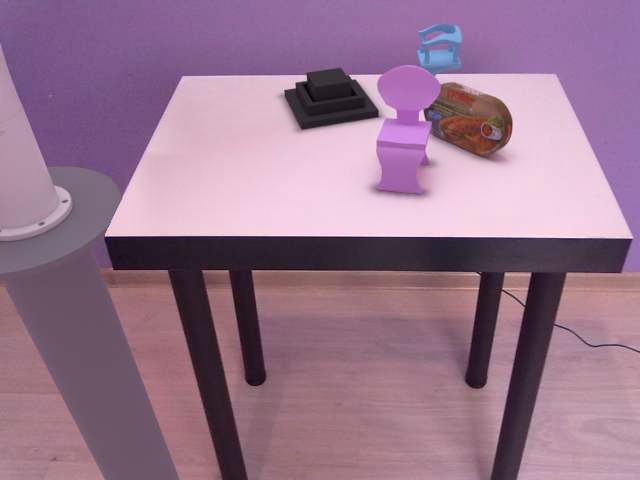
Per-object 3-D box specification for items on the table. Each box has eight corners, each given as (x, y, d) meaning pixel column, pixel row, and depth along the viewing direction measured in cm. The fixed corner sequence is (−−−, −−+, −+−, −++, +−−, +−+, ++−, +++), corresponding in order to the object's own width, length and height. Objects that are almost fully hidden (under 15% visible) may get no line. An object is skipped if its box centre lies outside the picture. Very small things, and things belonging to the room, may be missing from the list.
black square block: (316, 110, 101) (314, 86, 99) (307, 95, 106) (306, 72, 103) (351, 104, 103) (351, 81, 100) (341, 89, 107) (340, 67, 104)
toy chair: (368, 190, 85) (367, 86, 75) (380, 158, 91) (380, 58, 82) (429, 197, 83) (436, 91, 74) (437, 163, 90) (444, 62, 80)
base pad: (301, 129, 99) (299, 112, 97) (284, 96, 108) (282, 79, 107) (378, 116, 101) (378, 99, 100) (355, 85, 111) (355, 69, 109)
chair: (409, 89, 109) (411, 19, 102) (456, 86, 109) (462, 17, 102) (414, 108, 103) (417, 36, 96) (464, 106, 103) (471, 34, 96)
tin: (420, 129, 98) (423, 78, 92) (434, 123, 99) (437, 72, 94) (498, 165, 89) (506, 110, 84) (511, 157, 91) (520, 103, 85)
